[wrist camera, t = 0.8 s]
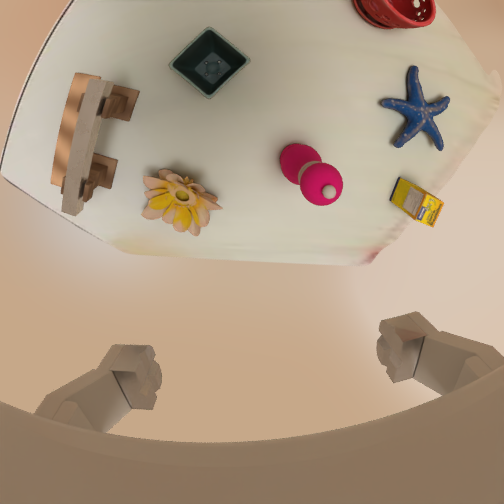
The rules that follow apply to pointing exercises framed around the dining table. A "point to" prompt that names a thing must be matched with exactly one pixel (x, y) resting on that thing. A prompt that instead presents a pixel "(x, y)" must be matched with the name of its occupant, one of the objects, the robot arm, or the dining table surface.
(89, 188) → the walnut post
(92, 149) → the steel rail
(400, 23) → the plant pot
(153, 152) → the dining table surface
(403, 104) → the starfish
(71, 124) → the light wood flat board
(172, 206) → the decorative flower
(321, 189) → the pepper mill
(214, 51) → the flower pot
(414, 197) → the supplement box
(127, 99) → the walnut post
